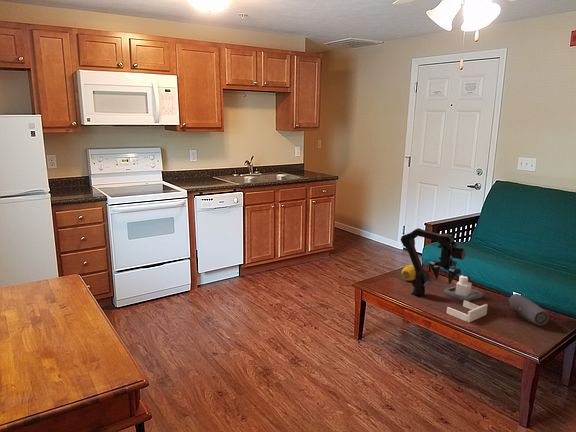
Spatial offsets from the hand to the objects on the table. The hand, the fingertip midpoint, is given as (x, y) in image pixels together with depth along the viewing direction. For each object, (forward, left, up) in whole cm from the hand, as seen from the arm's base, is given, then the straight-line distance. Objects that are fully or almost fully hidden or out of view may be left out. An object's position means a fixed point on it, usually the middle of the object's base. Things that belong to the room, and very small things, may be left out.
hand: (443, 281), depth 254 cm
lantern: (-35, +11, -13) cm, 39 cm away
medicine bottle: (0, +20, -12) cm, 23 cm away
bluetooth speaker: (+38, +24, -13) cm, 47 cm away
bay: (+18, -1, -13) cm, 22 cm away
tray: (0, +20, -13) cm, 24 cm away
